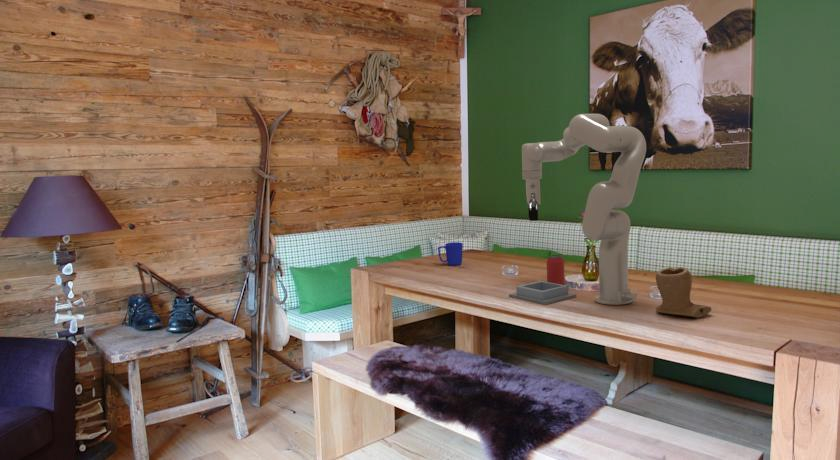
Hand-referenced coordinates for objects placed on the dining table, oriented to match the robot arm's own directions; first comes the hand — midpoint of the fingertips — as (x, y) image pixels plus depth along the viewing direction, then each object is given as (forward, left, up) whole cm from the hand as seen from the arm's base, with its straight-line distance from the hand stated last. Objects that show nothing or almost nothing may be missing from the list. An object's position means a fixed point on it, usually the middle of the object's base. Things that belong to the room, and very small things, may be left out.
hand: (533, 219), depth 258 cm
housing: (-17, +14, -26) cm, 34 cm away
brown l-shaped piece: (-65, +3, -26) cm, 70 cm away
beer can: (-9, -2, -26) cm, 28 cm away
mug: (+59, -5, -26) cm, 65 cm away
